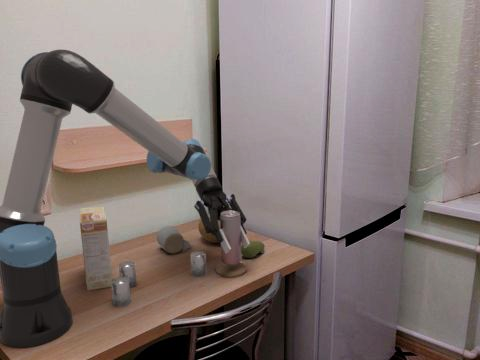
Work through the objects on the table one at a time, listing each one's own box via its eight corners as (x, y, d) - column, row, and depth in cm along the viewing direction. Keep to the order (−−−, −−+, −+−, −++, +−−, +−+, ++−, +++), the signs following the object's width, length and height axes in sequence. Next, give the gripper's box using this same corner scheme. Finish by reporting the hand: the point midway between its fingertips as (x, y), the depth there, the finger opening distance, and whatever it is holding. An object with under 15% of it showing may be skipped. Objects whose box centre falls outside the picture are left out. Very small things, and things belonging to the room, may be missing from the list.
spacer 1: (109, 305, 107) (107, 283, 106) (118, 297, 112) (116, 276, 110) (125, 307, 106) (124, 285, 105) (133, 298, 111) (132, 277, 109)
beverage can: (218, 259, 128) (217, 211, 124) (237, 256, 129) (236, 209, 126) (224, 267, 122) (223, 217, 119) (243, 264, 124) (243, 215, 121)
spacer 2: (189, 276, 123) (188, 256, 122) (194, 269, 128) (193, 251, 126) (203, 277, 123) (203, 257, 121) (208, 270, 127) (207, 251, 126)
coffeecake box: (85, 269, 129) (79, 208, 125) (110, 266, 131) (104, 205, 127) (86, 291, 115) (79, 222, 111) (113, 286, 118) (107, 219, 114)
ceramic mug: (165, 256, 138) (164, 234, 136) (156, 248, 145) (155, 227, 143) (195, 250, 143) (194, 228, 142) (185, 243, 150) (185, 222, 148)
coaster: (212, 276, 123) (212, 273, 123) (220, 263, 132) (220, 260, 131) (243, 278, 121) (243, 275, 121) (248, 265, 130) (248, 262, 130)
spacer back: (117, 287, 117) (115, 267, 116) (124, 280, 121) (123, 260, 120) (132, 288, 116) (130, 268, 115) (139, 281, 121) (137, 261, 119)
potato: (219, 250, 142) (218, 227, 141) (192, 240, 152) (191, 219, 150) (239, 242, 149) (239, 221, 147) (212, 233, 159) (212, 213, 157)
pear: (237, 240, 135) (255, 237, 143) (236, 257, 136) (254, 252, 144) (251, 244, 132) (269, 240, 140) (250, 260, 132) (268, 255, 140)
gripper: (227, 185, 139) (258, 247, 130) (175, 194, 129) (205, 262, 119) (236, 172, 134) (269, 235, 124) (182, 180, 123) (214, 250, 114)
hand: (237, 248), depth 122 cm, fingers closed on beverage can, 6 cm apart
